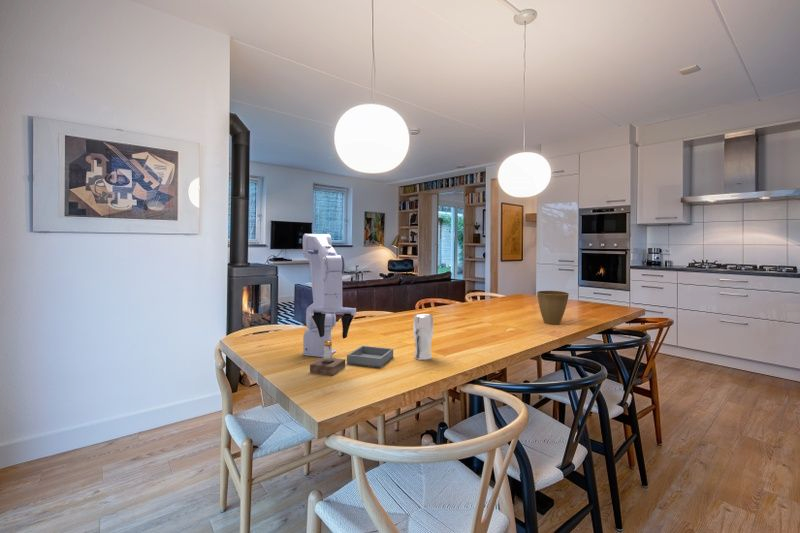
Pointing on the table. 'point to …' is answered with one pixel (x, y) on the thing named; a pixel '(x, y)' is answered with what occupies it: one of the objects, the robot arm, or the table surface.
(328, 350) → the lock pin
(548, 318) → the plant pot
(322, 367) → the block
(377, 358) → the tray
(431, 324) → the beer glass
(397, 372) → the table surface
